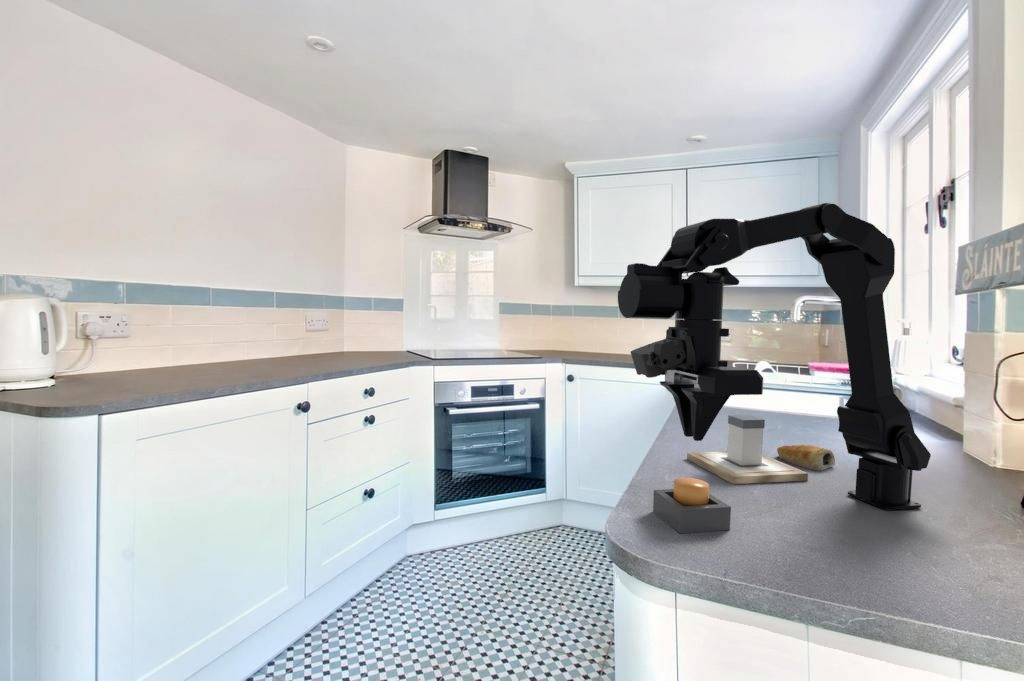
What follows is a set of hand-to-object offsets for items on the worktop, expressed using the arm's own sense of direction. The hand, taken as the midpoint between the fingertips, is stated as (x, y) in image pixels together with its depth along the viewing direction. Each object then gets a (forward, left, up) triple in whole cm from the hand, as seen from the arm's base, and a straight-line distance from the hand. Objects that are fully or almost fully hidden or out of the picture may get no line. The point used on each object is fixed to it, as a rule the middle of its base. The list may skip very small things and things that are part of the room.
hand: (693, 438), depth 65 cm
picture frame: (-22, -19, -11) cm, 31 cm away
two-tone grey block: (-22, -19, -10) cm, 31 cm away
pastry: (-37, -21, -11) cm, 43 cm away
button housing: (0, 0, -11) cm, 11 cm away
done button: (0, 0, -8) cm, 8 cm away
